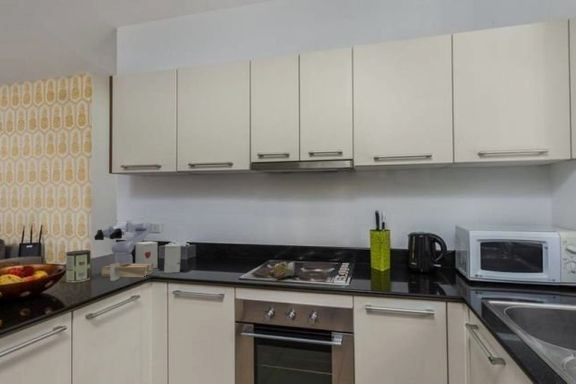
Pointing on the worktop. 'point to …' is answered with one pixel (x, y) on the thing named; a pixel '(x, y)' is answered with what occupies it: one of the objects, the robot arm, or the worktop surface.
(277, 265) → the ceramic sculpture
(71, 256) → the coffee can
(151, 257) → the supplement box
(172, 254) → the skincare box
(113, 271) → the bracket plate
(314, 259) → the worktop surface
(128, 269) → the block
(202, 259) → the worktop surface
